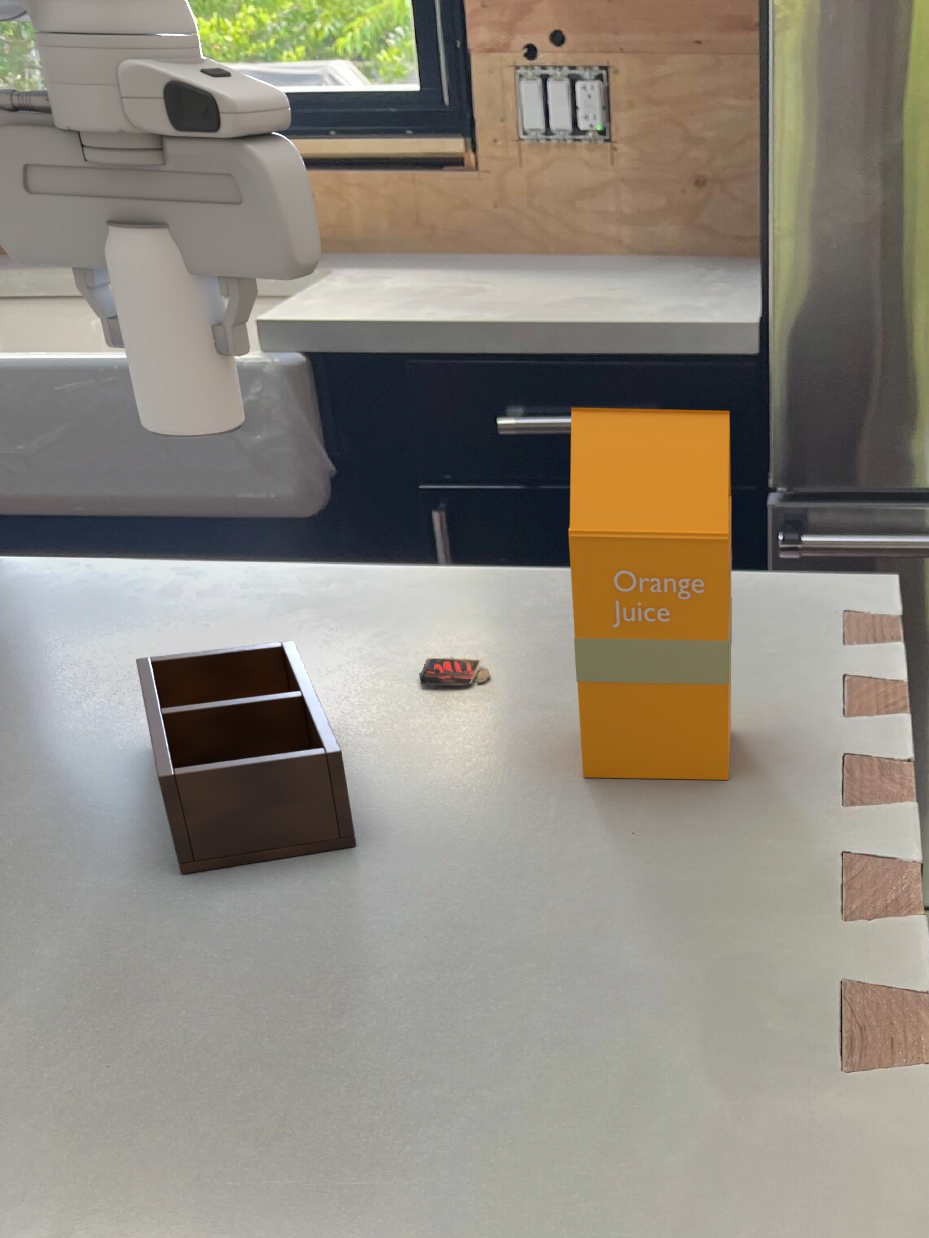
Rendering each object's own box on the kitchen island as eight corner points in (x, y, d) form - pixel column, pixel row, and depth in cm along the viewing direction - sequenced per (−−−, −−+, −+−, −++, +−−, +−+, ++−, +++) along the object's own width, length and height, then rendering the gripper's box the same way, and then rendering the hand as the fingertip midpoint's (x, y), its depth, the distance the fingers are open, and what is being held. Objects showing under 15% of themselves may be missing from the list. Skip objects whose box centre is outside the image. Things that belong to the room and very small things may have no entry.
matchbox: (421, 690, 99) (420, 683, 99) (417, 662, 103) (416, 656, 103) (492, 685, 100) (491, 678, 100) (485, 658, 104) (485, 652, 104)
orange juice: (729, 780, 89) (729, 427, 77) (581, 778, 89) (559, 424, 77) (732, 728, 95) (732, 395, 84) (594, 726, 95) (575, 392, 84)
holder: (180, 875, 78) (157, 776, 75) (156, 746, 91) (135, 658, 88) (356, 846, 81) (341, 751, 78) (308, 726, 94) (293, 640, 91)
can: (206, 443, 94) (165, 228, 87) (120, 434, 96) (73, 222, 89) (266, 421, 99) (232, 217, 92) (184, 413, 101) (144, 211, 94)
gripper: (-64, 89, 86) (3, 349, 94) (259, 102, 82) (301, 370, 90) (5, 85, 91) (64, 332, 99) (313, 96, 88) (348, 351, 95)
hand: (179, 350), depth 95 cm, fingers closed on can, 6 cm apart
